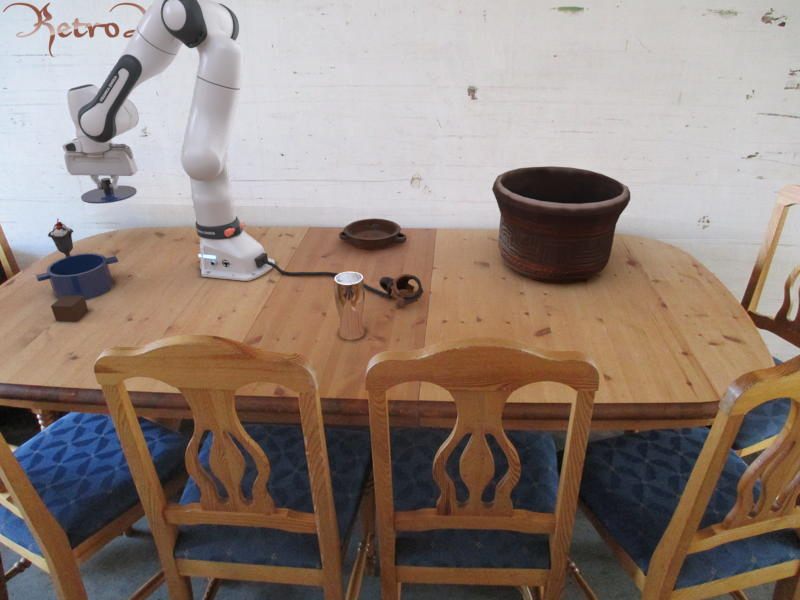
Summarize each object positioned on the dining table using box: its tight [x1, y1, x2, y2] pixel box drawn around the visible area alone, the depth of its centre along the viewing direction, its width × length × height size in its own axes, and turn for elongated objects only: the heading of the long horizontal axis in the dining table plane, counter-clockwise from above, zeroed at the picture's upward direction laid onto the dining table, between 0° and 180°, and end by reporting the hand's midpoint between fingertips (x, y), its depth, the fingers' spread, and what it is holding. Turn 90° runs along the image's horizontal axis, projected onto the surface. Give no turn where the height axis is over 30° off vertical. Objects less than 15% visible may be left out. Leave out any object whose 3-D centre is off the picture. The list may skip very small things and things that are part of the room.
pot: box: [35, 252, 119, 301], centre depth 158 cm, size 15×20×8 cm
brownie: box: [50, 295, 89, 323], centre depth 146 cm, size 6×6×4 cm
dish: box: [338, 217, 407, 250], centre depth 185 cm, size 18×22×5 cm
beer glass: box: [333, 271, 366, 341], centre depth 134 cm, size 7×7×15 cm
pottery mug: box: [378, 273, 424, 309], centre depth 151 cm, size 12×9×8 cm
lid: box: [80, 177, 138, 205], centre depth 174 cm, size 16×16×6 cm
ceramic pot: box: [491, 165, 631, 284], centre depth 163 cm, size 37×37×25 cm
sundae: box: [47, 218, 74, 257], centre depth 171 cm, size 7×7×15 cm
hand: (107, 189), depth 175 cm, fingers closed on lid, 2 cm apart
